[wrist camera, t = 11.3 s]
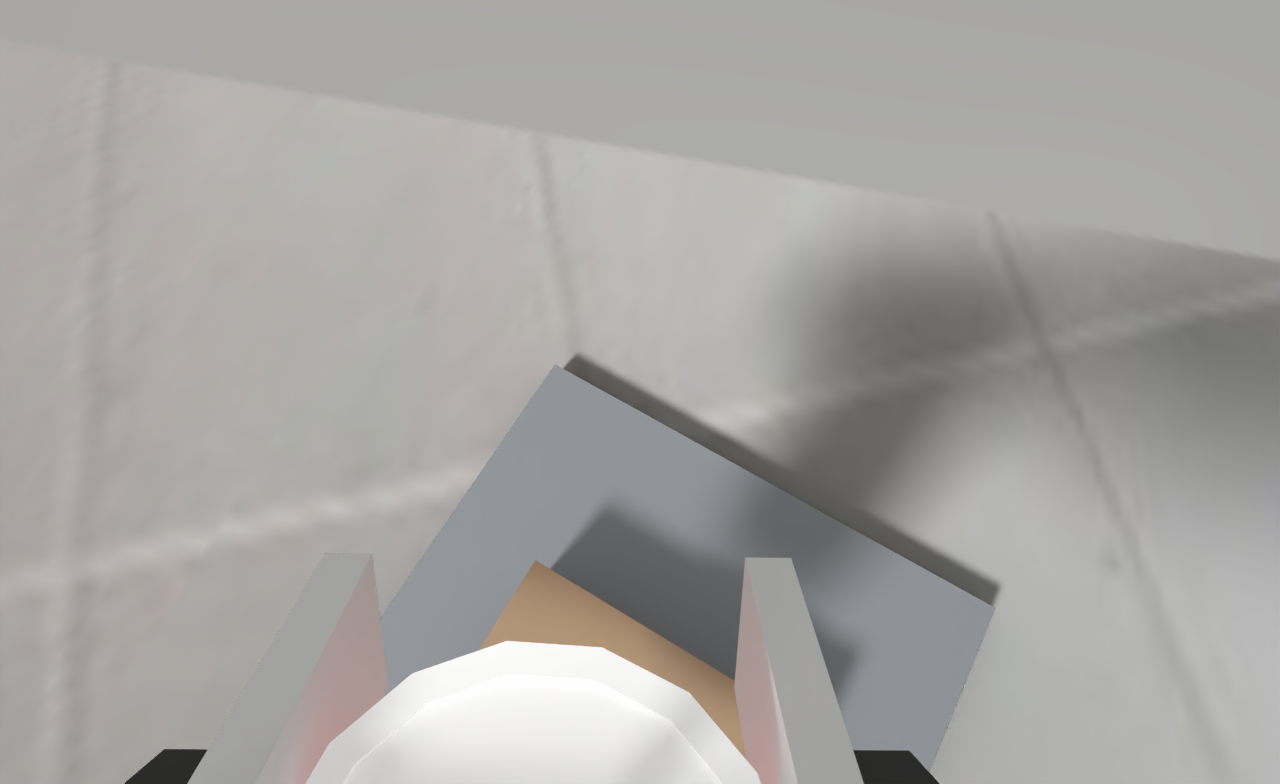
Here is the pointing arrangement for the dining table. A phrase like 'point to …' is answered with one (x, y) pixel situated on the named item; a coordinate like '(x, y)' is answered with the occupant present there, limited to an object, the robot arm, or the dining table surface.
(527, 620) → the walnut pedestal
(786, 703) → the robot arm
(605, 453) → the base board
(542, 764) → the beverage cup
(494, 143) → the dining table surface
